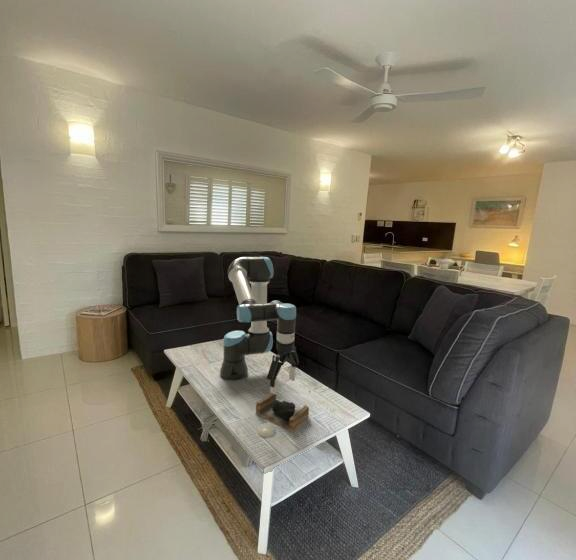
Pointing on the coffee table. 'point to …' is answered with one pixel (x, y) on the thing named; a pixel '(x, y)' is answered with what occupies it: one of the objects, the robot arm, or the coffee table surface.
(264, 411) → the rest
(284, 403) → the mineral
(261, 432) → the cream glossy rounded part
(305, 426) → the coffee table surface
